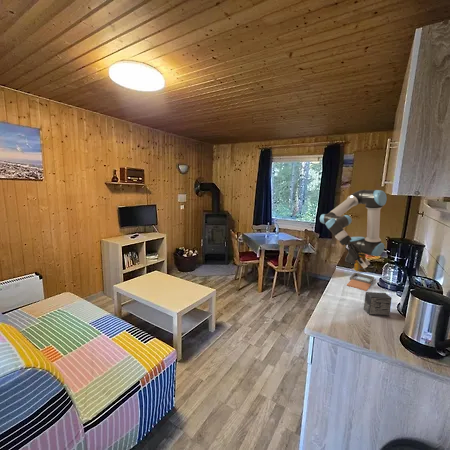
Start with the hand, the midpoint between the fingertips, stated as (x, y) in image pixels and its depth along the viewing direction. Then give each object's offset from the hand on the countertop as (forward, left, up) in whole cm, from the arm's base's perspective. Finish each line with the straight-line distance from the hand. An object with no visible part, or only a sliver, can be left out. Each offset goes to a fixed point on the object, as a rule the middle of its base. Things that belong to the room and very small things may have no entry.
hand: (367, 266), depth 157 cm
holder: (-13, -4, -15) cm, 20 cm away
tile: (0, -3, -15) cm, 15 cm away
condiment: (0, -4, -4) cm, 6 cm away
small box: (+32, +13, -15) cm, 37 cm away
